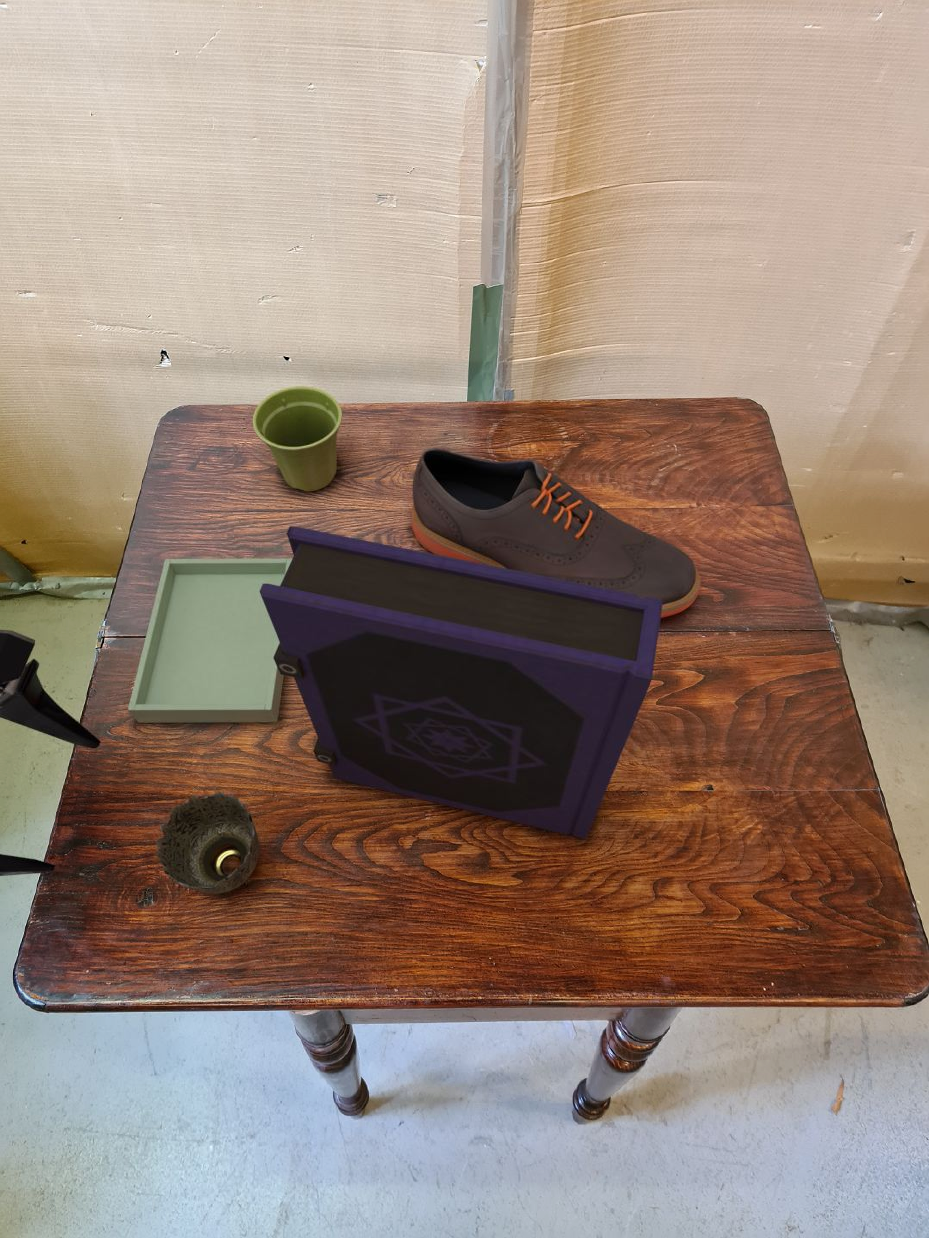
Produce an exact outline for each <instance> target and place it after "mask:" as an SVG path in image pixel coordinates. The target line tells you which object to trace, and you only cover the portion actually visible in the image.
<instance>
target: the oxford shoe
mask: <svg viewBox="0 0 929 1238" xmlns="http://www.w3.org/2000/svg"><path fill="white" fill-rule="evenodd" d="M411 485H412V487H411V489H412V503H413V504H412V507H411V528H412V533H413V534H414V536H415V539H416V540H417V541H418V543H419V544H420V545H421V546H422V547H423V548H424V549H426V550H427V551H428V552H429V553H431V554H436V555H441V556H446V557H451V558H456V559H461V560H466V561H471V562H476V563H481V564H486V565H491V566H496V567H501V568H506V569H511V570H516V571H521V572H526V573H531V574H536V575H541V576H546V577H551V578H556V579H561V580H566V581H571V582H576V583H581V584H586V585H591V586H596V587H601V588H606V589H611V590H616V591H621V592H626V593H631V594H635V595H636V596H638V597H639V598H640V599H642V598H645V597H651V598H656V599H661V600H663V605H662V612H661V619H662V618H667V617H670V616H673V615H674V616H675V615H677V614H679V613H681V612H683V611H685V610H686V609H688V608H689V607H690V606H691V605H692V604H693V603H694V602H695V600H696V599H697V597H698V595H699V593H700V589H701V585H702V581H701V576H700V572H699V570H698V569H697V566H695V564H694V561H693V560H692V558H691V557H690V556H689V555H688V554H687V553H685V552H684V551H682V549H680V548H678V547H676V546H675V545H674V544H671V543H669V542H667V541H665V540H664V539H661V538H659V537H657V536H655V535H652V534H650V533H648V532H645V531H642V530H641V529H639V528H637V527H635V526H634V525H632V524H630V523H627V522H626V521H623V519H619V518H618V517H616V516H615V515H614V514H612V513H610V512H608V511H607V510H606V509H604V508H603V507H602V506H600V505H599V504H597V503H596V502H594V501H592V500H591V499H590V498H588V497H586V496H585V495H583V494H582V493H581V492H579V491H578V490H576V489H575V488H574V487H572V486H571V485H570V484H568V483H567V482H566V481H564V480H563V479H561V478H560V477H558V476H557V475H556V474H554V473H553V472H552V471H550V470H548V469H547V468H546V467H544V466H542V465H541V464H539V462H537V461H535V460H533V459H520V460H519V459H518V460H510V461H497V460H490V459H483V458H480V457H474V456H470V455H466V454H462V453H460V452H455V451H451V450H448V449H443V448H438V447H431V448H427V449H425V450H424V451H423V452H422V453H421V455H420V457H419V459H418V461H417V463H416V467H415V470H414V473H413V478H412V484H411Z"/></svg>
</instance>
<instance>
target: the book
mask: <svg viewBox="0 0 929 1238" xmlns="http://www.w3.org/2000/svg"><path fill="white" fill-rule="evenodd" d="M286 531H287V532H286V536H287V539H288V542H289V545H290V548H291V551H292V555H293V556H292V558H293V559H292V561H291V563H290V565H289V567H288V570H287V572H286V574H285V576H284V578H283V581H282V583H281V585H280V586H277V585H272V584H268V583H267V584H263V585H262V587H261V589H260V591H259V592H260V594H261V597H262V599H263V602H264V604H265V607H266V609H267V612H268V614H269V617H270V619H271V622H272V624H273V627H274V629H275V632H276V634H277V637H278V639H279V642H280V643H279V645H278V648H277V650H276V652H275V655H274V657H273V658H274V660H275V663H276V665H277V667H278V670H279V672H280V674H281V675H284V676H286V677H290V678H293V679H294V681H295V684H296V686H297V689H298V691H299V694H300V696H301V700H302V702H303V704H304V706H305V709H306V711H307V714H308V717H309V718H310V721H311V723H312V726H313V729H314V732H315V733H316V736H317V740H316V742H315V745H314V747H313V750H312V751H313V753H314V756H315V759H316V760H317V762H318V763H323V764H325V765H326V764H327V765H328V766H329V768H330V772H331V773H332V776H333V778H334V779H336V780H340V781H343V782H348V783H351V784H356V785H360V786H364V787H368V788H373V789H376V790H381V791H385V792H389V793H392V794H397V795H401V796H405V797H409V798H414V799H416V800H417V799H418V800H421V801H426V802H430V803H434V804H437V805H442V806H446V807H450V808H454V809H458V810H463V811H466V812H470V813H475V814H480V815H483V816H487V817H491V818H495V819H499V820H503V821H508V822H512V823H516V824H520V825H523V826H528V827H532V828H537V829H541V830H544V831H548V832H552V833H557V834H561V835H564V836H568V835H570V834H572V836H573V837H574V838H578V839H581V840H582V839H583V840H587V838H588V835H589V833H590V830H591V828H592V825H593V823H594V820H595V819H596V815H597V813H598V811H599V808H600V806H601V803H602V801H603V799H604V796H605V794H606V791H607V790H608V786H609V785H610V782H611V779H612V777H613V775H614V772H615V770H616V767H617V765H618V762H619V760H620V758H621V755H622V753H623V750H624V748H625V745H626V743H627V741H628V738H629V736H630V733H631V731H632V729H633V726H634V724H635V721H636V719H637V716H638V714H639V711H640V709H641V707H642V705H643V703H644V701H645V700H644V699H645V697H646V695H647V692H648V690H649V687H650V685H651V683H652V680H653V675H654V666H655V661H656V660H655V659H656V653H657V647H658V646H657V645H658V639H659V633H660V625H661V619H662V618H661V612H662V605H663V600H661V599H656V598H651V597H645V598H642V599H640V598H639V597H638V596H636V595H635V594H631V593H626V592H621V591H616V590H611V589H606V588H601V587H596V586H591V585H586V584H581V583H576V582H571V581H566V580H561V579H556V578H551V577H546V576H541V575H536V574H531V573H526V572H521V571H516V570H511V569H506V568H501V567H496V566H491V565H486V564H481V563H476V562H471V561H466V560H461V559H456V558H451V557H446V556H441V555H436V554H433V553H432V552H425V551H420V550H415V549H411V548H405V547H400V546H395V545H392V544H391V545H390V544H385V543H380V542H375V541H371V540H365V539H359V538H355V537H349V536H345V535H340V534H336V533H335V534H334V533H330V532H324V531H320V530H315V529H311V528H310V529H309V528H306V527H300V526H294V525H290V526H289V528H288V529H287V530H286Z"/></svg>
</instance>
